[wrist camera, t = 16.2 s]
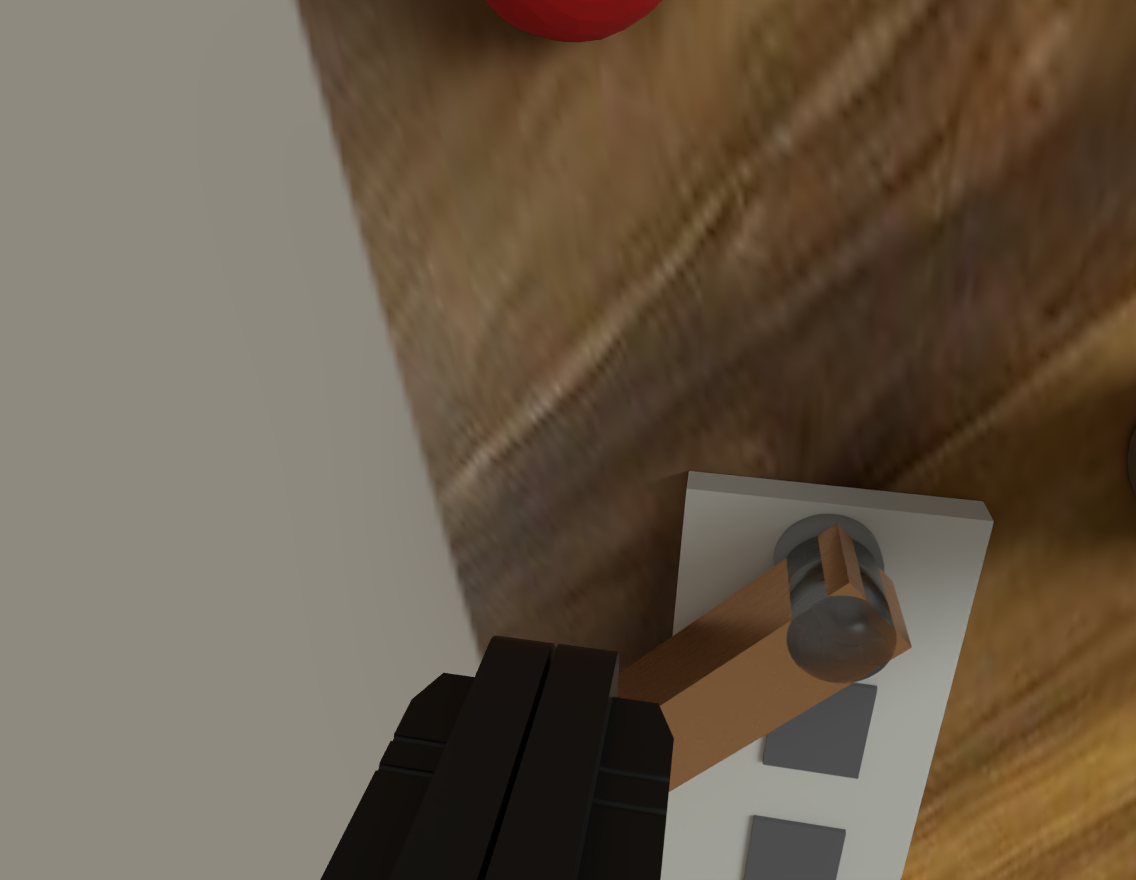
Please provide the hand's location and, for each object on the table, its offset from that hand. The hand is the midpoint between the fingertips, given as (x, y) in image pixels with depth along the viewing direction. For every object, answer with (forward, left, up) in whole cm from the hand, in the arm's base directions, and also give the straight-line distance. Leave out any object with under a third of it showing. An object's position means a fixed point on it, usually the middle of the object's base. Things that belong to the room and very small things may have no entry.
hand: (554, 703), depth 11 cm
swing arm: (-1, +23, -29) cm, 37 cm away
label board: (-8, +26, -32) cm, 42 cm away
